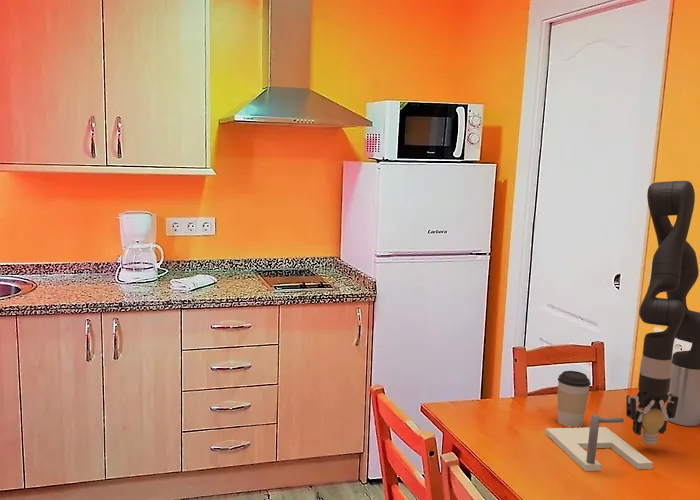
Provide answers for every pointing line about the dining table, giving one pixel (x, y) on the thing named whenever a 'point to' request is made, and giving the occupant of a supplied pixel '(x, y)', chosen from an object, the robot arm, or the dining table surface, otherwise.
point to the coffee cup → (572, 397)
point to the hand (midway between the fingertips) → (648, 433)
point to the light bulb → (652, 425)
